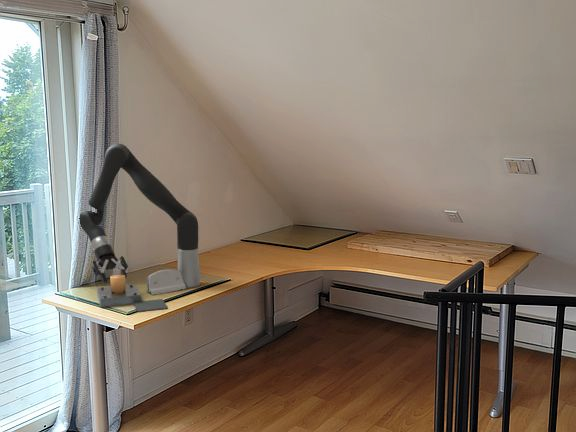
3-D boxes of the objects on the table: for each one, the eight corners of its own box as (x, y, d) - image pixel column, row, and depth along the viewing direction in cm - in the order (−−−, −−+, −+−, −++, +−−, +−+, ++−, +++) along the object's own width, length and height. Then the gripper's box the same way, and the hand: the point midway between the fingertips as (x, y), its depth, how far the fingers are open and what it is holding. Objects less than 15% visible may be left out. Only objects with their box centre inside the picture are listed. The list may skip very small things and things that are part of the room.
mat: (162, 300, 254) (162, 298, 254) (167, 308, 243) (167, 307, 243) (133, 303, 250) (133, 302, 250) (137, 312, 239) (137, 310, 239)
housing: (135, 292, 265) (135, 283, 264) (140, 303, 250) (140, 293, 249) (97, 295, 259) (96, 286, 258) (100, 307, 244) (100, 297, 244)
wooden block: (125, 296, 258) (124, 273, 257) (127, 300, 253) (126, 277, 251) (110, 298, 256) (109, 275, 254) (112, 302, 251) (111, 279, 249)
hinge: (151, 295, 260) (147, 272, 261) (147, 296, 264) (143, 273, 265) (186, 288, 270) (182, 266, 271) (182, 289, 274) (178, 267, 275)
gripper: (89, 246, 254) (102, 278, 248) (120, 241, 263) (134, 272, 257) (84, 256, 259) (97, 288, 252) (115, 251, 268) (128, 282, 262)
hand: (115, 280), depth 255 cm, fingers open, 8 cm apart
